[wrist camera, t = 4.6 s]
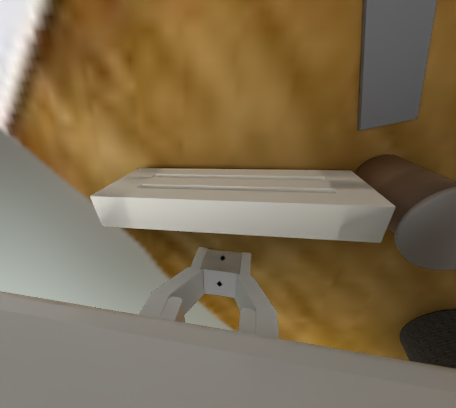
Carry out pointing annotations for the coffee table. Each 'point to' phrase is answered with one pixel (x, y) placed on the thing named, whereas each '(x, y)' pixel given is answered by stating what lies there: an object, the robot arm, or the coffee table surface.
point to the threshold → (393, 59)
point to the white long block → (247, 203)
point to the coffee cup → (431, 339)
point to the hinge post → (417, 209)
